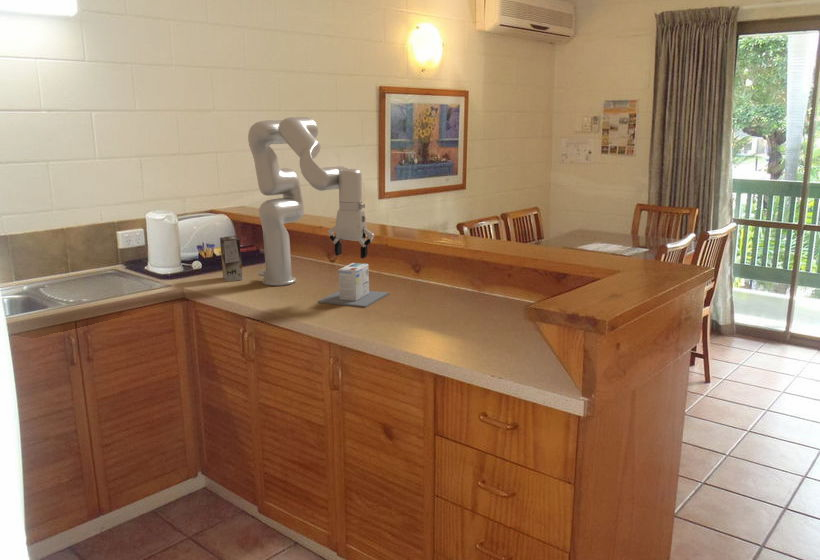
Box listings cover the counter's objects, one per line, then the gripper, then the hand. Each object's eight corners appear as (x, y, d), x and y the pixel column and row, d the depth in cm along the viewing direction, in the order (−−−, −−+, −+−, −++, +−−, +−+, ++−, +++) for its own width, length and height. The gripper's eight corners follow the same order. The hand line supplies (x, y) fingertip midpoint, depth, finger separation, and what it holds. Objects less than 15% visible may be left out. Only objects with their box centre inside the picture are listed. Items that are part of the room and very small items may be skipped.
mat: (318, 302, 232) (318, 300, 232) (343, 289, 248) (343, 288, 248) (365, 307, 225) (365, 305, 225) (388, 294, 241) (388, 292, 241)
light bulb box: (352, 292, 242) (351, 262, 240) (370, 293, 240) (369, 263, 237) (338, 299, 232) (337, 268, 230) (356, 301, 230) (355, 270, 227)
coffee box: (243, 280, 265) (240, 239, 261) (226, 281, 263) (223, 240, 259) (238, 275, 273) (235, 235, 270) (222, 277, 271) (219, 237, 267)
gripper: (378, 206, 229) (378, 256, 233) (333, 203, 235) (334, 251, 240) (368, 209, 222) (368, 261, 227) (322, 206, 229) (323, 255, 233)
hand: (350, 256), depth 233 cm, fingers open, 9 cm apart
